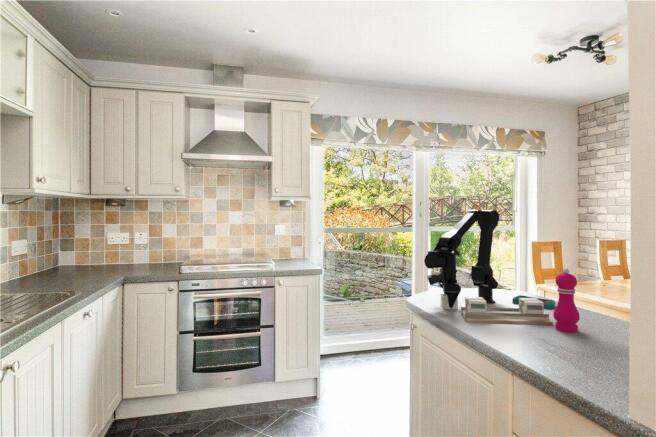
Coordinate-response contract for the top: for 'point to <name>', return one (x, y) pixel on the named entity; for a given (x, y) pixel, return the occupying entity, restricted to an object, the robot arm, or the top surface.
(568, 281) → the pepper mill
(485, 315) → the rail panel
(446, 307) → the block
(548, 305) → the digital multimeter
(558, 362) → the top surface
